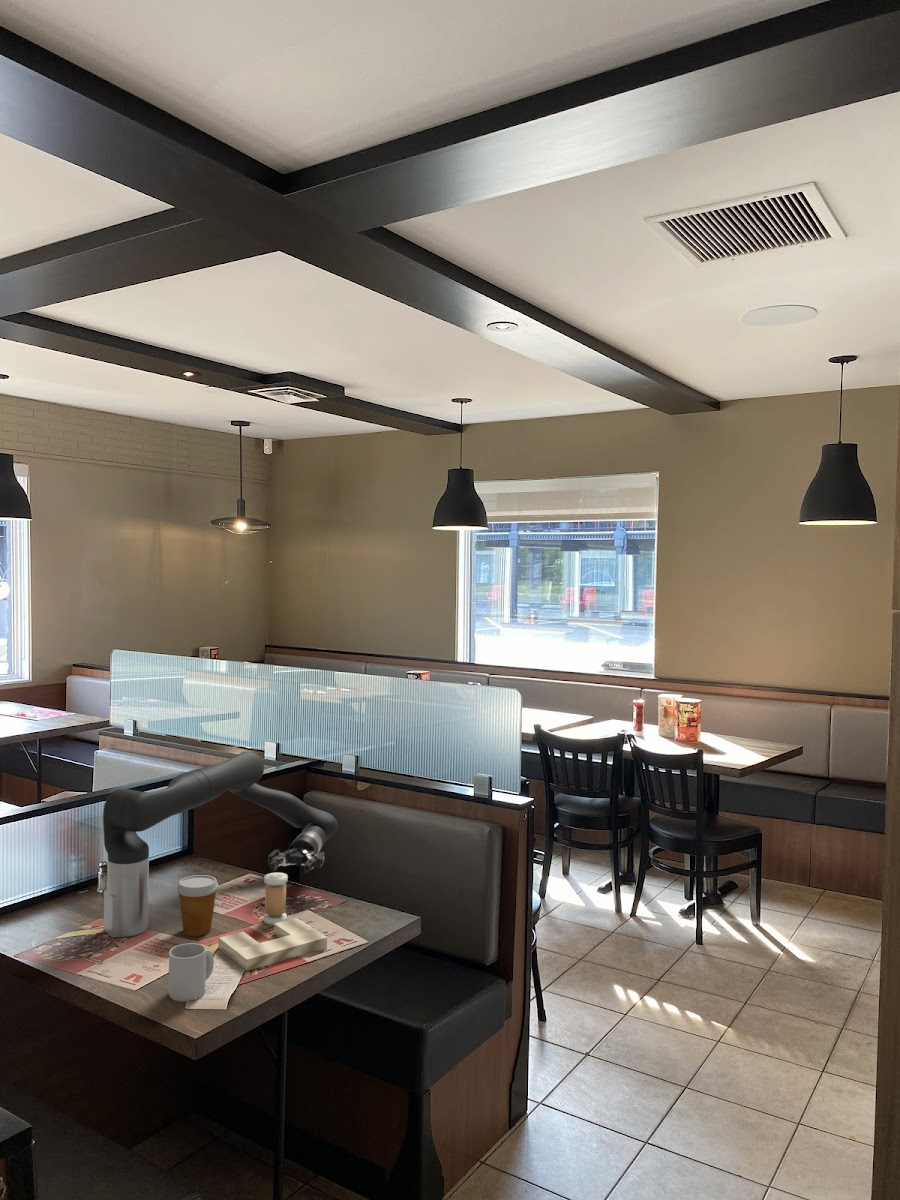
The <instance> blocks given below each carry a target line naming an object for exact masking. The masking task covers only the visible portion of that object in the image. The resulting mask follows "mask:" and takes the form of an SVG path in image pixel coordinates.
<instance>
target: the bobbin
mask: <svg viewBox="0 0 900 1200" xmlns="http://www.w3.org/2000/svg"><path fill="white" fill-rule="evenodd" d="M288 878H289V876H288V874H287V873H284V872H271V873H267V874H265V875H264V877H263V880H264V882H263V883H264V884H266V885H265V886H264V887H265V890H264V891H265V893H264V896H265V898H264V913H265V914H263V923H264V924H265V925H270V926H274V923H278V922H282V921H286V920H288V919H287V918H288V917H287V916H288V915H287V913H286V909H287V884H286V883H288Z"/></svg>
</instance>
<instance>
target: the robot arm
mask: <svg viewBox="0 0 900 1200" xmlns="http://www.w3.org/2000/svg"><path fill="white" fill-rule="evenodd" d="M264 771H265V765H264V761H263V760H262V758H261V757H260V756H259V755H258V754H256V753H255V752H251V751H243V752H240V753H238V754H237V755H234V756H233V757H231V758H229V759H226V760H224V761H222V762H218V763H214V764H210V765H205V766H202V767H200V768H196V769H192V770H189V771H186V772H183V773H180V774H179V775H176V776H175V777H173V779H171V780H170V782H169V783H168V785H167V786H166V788H163V789H160V790H159V789H158V790H155V791H150V792H149V791H147V792H146V791H139V790H134V789H128V788H117V789H114V790H113V791H112V792H110V793H109V795H108V796H107V798H106V800H105V802H104V806H103V813H102V820H103V822H102V824H103V844H104V849H105V851H106V854H107V867H106V868H107V871H106V872H107V873H106V874H107V875H106V876H107V877H106V879H107V880H106V883H107V885H106V889H104V891H103V930H104V931H105V932H106V933H107V935H108V936H109V937H110V938H113V939H114V938H126V937H134V936H137V935H140V934H143V933H144V932H146V931H147V929H148V928H149V882H150V881H149V877H150V876H149V871H150V870H149V869H150V867H149V866H150V865H149V864H150V863H149V862H150V847H149V844H148V843H147V842H146V841H144V840H143V839H142V838H141V837H140V836H139V835H138V833H139V832H143V831H145V830H149V829H150V828H153V827H154V826H156V825H157V824H160V823H161V822H163V821H165V820H167V819H168V818H171V817H174V816H175V815H178V814H181V813H184V812H186V811H189V810H193V809H195V808H198V807H200V806H203V805H205V804H206V803H209V802H211V801H213V800H215V799H216V798H219V796H222V794H224V793H226V792H227V791H228V792H230V793H232V794H234V795H236V796H239V797H240V798H243V799H245V800H247V801H249V802H250V803H253V804H255V805H258V806H260V807H262V808H264V809H266V810H268V811H270V812H272V813H273V814H275V815H277V816H278V817H280V818H281V819H282V820H284V821H285V822H286V823H289V824H290V825H291V826H293V827H294V828H296V829H301V828H303V827H304V828H303V829H302V831H301V833H300V834H298V836H296V838H295V839H294V840H293V841H292V842H291V843H290V844H289V847H288V849H287V850H285V851H284V852H283V851H282V852H280V849H274V850H273V851H272V852H270V854H268V856H267V857H268V859H267V865H268V866H270V870H271V871H272V872H275V871H276V870H278V868H279V867H281V866H282V867H287V866H290V865H291V866H294V865H295V866H297V867H303V873H305V874H307V873H308V872H310V871H312V870H313V869H314V868H315V867H316V869H321V868H322V867H323V865H324V863H325V851H321V849H322V848H323V847H324V845H325V842H327V841H328V839H330V838H331V837H332V836H333V835H334V834H335V833H336V832H337V831H338V828H339V824H338V820H337V819H336V818H335V816H334V815H333V814H331V813H329V812H327V811H325V810H321V809H318V808H315V807H313V806H310V805H308V804H307V803H305V802H303V801H302V800H301V799H299V798H298V797H296V796H295V795H293V794H291V793H289V792H286V791H283V790H278V789H273V788H269V787H265V786H263V785H260V784H258V783H257V782H259V780H260V779H261V778H262V776H263V775H264ZM137 832H138V833H137Z"/></svg>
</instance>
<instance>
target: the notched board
mask: <svg viewBox="0 0 900 1200" xmlns="http://www.w3.org/2000/svg"><path fill="white" fill-rule="evenodd" d="M273 926H274V927H273V928H274V931H273V935H275V936H276V937H277V938H274V939H271V940H267V941H262V942H258V941H257V940H255V939H254V938H253V937H252V936H250V935H249V934H248V933H246V932H244V931H240V932H235V933H231V934H227V935H224V936H220V937H218V949H219V950H220V951H221V952H222V953H224V954H225V955H226V956H227V957H229V958H230V959H231V960H233V961H234V962H235V963H236V964H238V966H240V967H241V968H242V967H243V968H242V969H244V970H245V971H247V972H248V971H251V970H255V969H259V968H262V967H266V966H268V965H273V964H276V963H279V961H280V962H283V961H286V959H287V960H290V959H293V957H294V958H297V957H300V955H301V956H304V955H307V953H308V954H311V953H314V951H315V952H317V951H322V950H325V949H327V948H328V936H326V935H324V934H323V933H321V932H320V931H318V930H317V929H315V928H313V927H312V926H310V925H308V924H307V923H306V922H304V921H302V920H301V919H299V918H298V917H295V918H290V919H287V920H286V921H282V922H278V923H274V925H273ZM321 949H322V950H321ZM316 950H317V951H316ZM310 952H311V953H310ZM303 954H304V955H303ZM296 956H297V957H296ZM275 962H276V963H275ZM272 963H273V964H272Z"/></svg>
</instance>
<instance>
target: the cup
mask: <svg viewBox="0 0 900 1200" xmlns="http://www.w3.org/2000/svg"><path fill="white" fill-rule="evenodd" d="M214 964H215V960H214V955H213V953H212V950H210V949H209V948H207V947H205V946H204V945H203V944H201V943H194V942H190V943H187V942H186V943H183V944H182V943H181V944H178V945H175V946H173V947H172V948H170V950H169V953H168V996H169V997H170V999H171V1000H173V1001H175V1002H180V1003H181V1002H182V1003H186V1002H192V1001H191V1000H193V1001H195V1000H194V999H196V998H198V999H200V998H201V997H202V996H203V995H204V993H205V992H206V981H207V980H208V979H209V978H210V976H211V975H212V973H213V969H214V966H215V965H214ZM200 996H201V997H200ZM199 997H200V998H199ZM196 1000H197V999H196Z"/></svg>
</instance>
